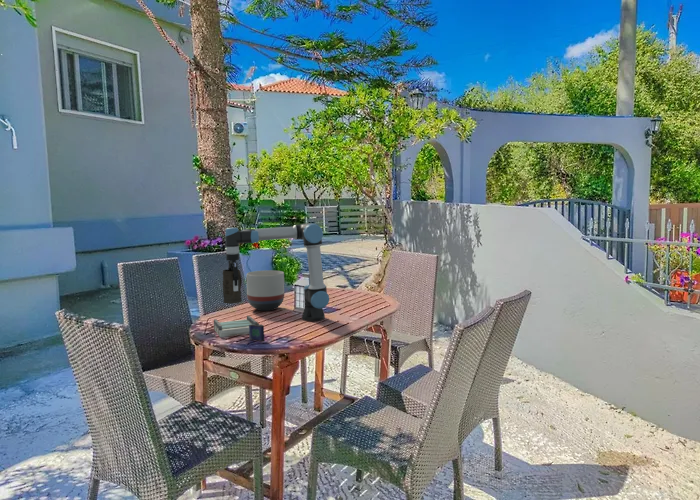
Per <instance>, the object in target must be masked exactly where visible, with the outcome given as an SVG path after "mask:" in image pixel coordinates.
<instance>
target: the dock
mask: <svg viewBox="0 0 700 500" xmlns="http://www.w3.org/2000/svg"><path fill="white" fill-rule="evenodd" d="M255 322H257V321H256V320H255V319H254V318H253V317H252V316H250V315H246V318H245V319H238V320H237V319H236V320H228V321H221V322H220V321H218V319H216V318H215V319H213V331H215V333H216V334H217V335H218V337H219V338H226V337H233V336H234V337H235V335H236V336H244V335H249V325H250V324H255Z"/></svg>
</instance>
